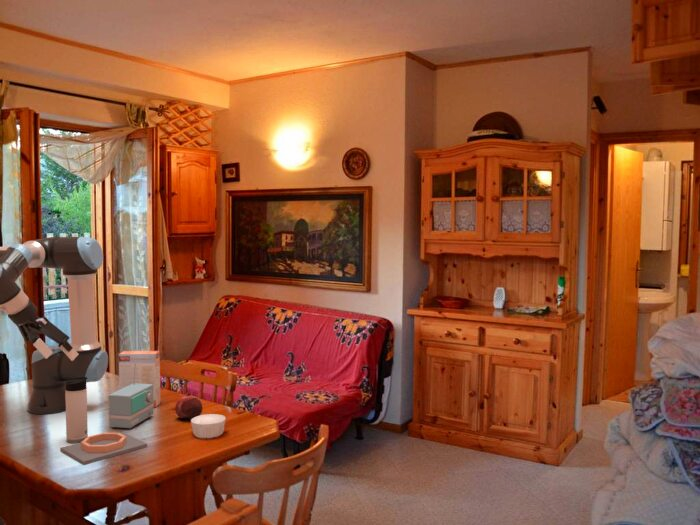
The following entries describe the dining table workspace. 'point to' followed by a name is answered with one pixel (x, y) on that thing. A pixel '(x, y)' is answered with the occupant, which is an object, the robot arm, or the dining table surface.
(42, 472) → the dining table surface
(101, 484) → the dining table surface
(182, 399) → the fruit
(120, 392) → the radio
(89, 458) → the mug stand
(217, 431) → the ramekin
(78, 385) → the travel mug
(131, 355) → the cracker box
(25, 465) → the dining table surface
